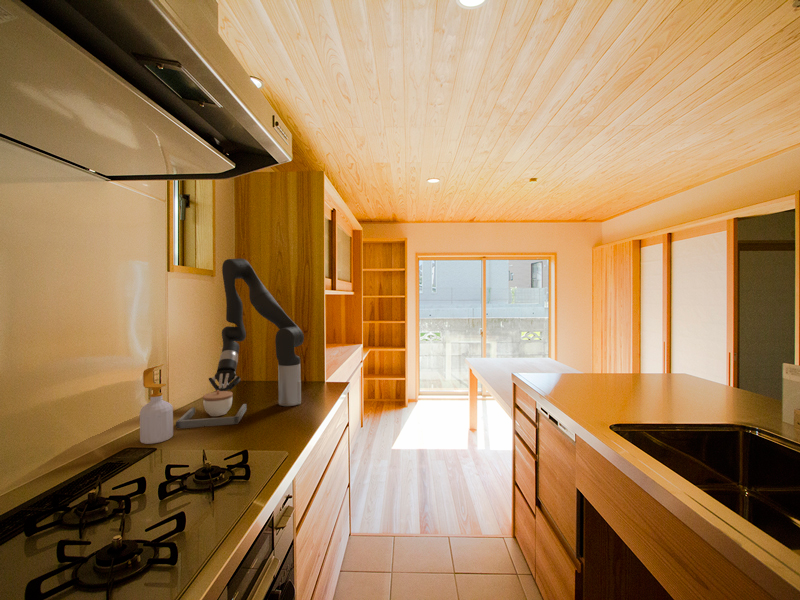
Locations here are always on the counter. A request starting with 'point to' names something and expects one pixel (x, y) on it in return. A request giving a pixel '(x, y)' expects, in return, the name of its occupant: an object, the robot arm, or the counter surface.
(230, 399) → the lidded jar
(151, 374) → the soap bottle
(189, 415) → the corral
